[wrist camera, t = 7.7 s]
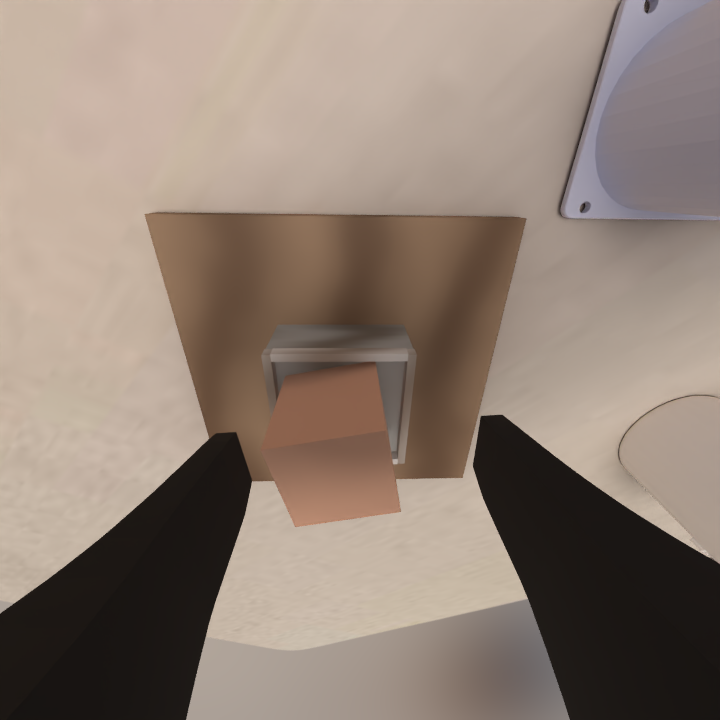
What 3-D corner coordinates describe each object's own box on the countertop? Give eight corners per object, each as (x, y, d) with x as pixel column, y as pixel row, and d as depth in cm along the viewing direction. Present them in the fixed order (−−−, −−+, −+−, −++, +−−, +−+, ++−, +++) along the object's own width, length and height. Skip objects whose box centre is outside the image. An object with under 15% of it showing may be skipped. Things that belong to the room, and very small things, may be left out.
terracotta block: (375, 360, 15) (385, 430, 11) (387, 430, 17) (400, 511, 13) (285, 375, 16) (260, 450, 11) (308, 442, 18) (295, 526, 13)
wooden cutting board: (516, 216, 16) (572, 227, 12) (458, 467, 25) (479, 521, 21) (156, 212, 15) (88, 221, 11) (226, 471, 24) (202, 528, 20)
